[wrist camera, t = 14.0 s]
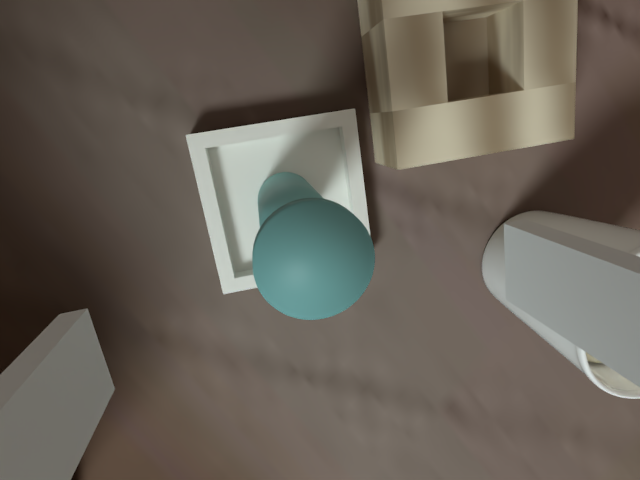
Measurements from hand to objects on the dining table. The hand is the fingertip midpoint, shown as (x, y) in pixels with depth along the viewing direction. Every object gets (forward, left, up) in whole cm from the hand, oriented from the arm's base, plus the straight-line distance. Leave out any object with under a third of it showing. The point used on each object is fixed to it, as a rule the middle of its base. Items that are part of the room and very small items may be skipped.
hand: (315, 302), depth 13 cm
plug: (0, 0, -17) cm, 17 cm away
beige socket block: (+13, +8, -18) cm, 24 cm away
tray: (0, 0, -18) cm, 18 cm away
